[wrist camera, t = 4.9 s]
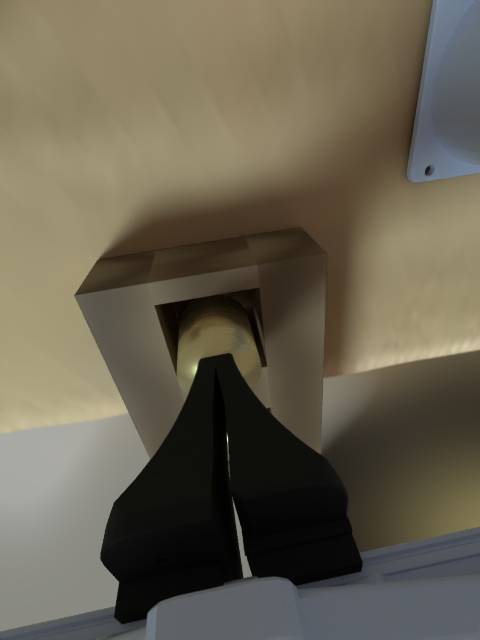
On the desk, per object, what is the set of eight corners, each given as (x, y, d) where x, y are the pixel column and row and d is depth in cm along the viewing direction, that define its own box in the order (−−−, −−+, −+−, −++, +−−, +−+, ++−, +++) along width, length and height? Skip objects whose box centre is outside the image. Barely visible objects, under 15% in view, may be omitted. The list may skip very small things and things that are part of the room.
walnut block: (300, 227, 17) (326, 253, 14) (303, 412, 25) (320, 456, 22) (97, 260, 17) (74, 295, 13) (167, 437, 25) (163, 487, 22)
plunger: (244, 288, 16) (257, 331, 13) (251, 345, 18) (264, 395, 15) (172, 300, 16) (167, 347, 12) (187, 357, 18) (186, 409, 14)
